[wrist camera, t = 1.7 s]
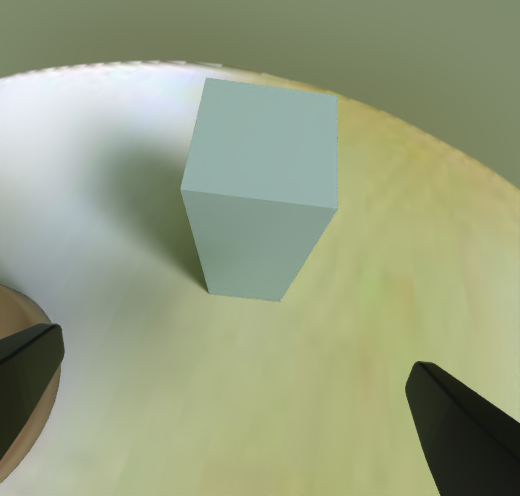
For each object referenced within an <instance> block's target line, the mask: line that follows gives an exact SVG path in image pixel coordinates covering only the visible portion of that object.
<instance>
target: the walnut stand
mask: <svg viewBox="0 0 520 496" xmlns="http://www.w3.org/2000/svg"><path fill="white" fill-rule="evenodd" d="M38 323H51V322H50V320H49V318H48V317H47V316H46V314H45V313H44V311H43V310H42V309H41V308H40V307H39V306H38V305H37V304H36V303H35V302H33V301H32V300H31V299H29V298H28V297H26V296H25V295H23V294H21V293H19V292H17V291H15V290H13V289H10V288H8V287H5V286H2V285H0V339H2V338H5V337H7V336H9V335H12V334H14V333H17V332H19V331H21V330H24V329H26V328H29V327H31V326H33V325H36V324H38ZM60 373H61V364H60V366H59V367H58V369H57V371H56V373H55V374H54V376H53V378H52V380H51V382H50V383H49V385H48V387H47V389H46V390H45V392H44V394H43V396H42V398H41V399H40V401H39V403H38V405H37V407H36V408H35V410H34V412H33V413H32V415H31V417H30V418H29V420H28V422H27V423H26V425H25V426H24V428H23V429H22V431H21V432H20V434H19V435H18V437H17V438H16V440H15V441H14V442H13V444H12V445H11V447H10V448H9V450H8V451H7V453H6V454H5V455H4V457H3V458H2V460H1V461H0V483H2V482H3V481H4V480H5V479H6V478H7V477H8V476H9V474H10V473H11V472H12V471H13V470H14V469H15V468H16V467H17V466H18V465H19V464H20V462H21V461H22V460H23V459H24V457H25V456H26V455H27V453H28V452H29V451H30V449H31V448H32V446H33V445H34V443H35V442H36V440H37V439H38V437H39V435H40V434H41V432H42V430H43V428H44V426H45V424H46V422H47V420H48V418H49V415H50V413H51V410H52V408H53V405H54V402H55V399H56V395H57V391H58V387H59V380H60Z"/></svg>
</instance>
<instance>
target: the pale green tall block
mask: <svg viewBox="0 0 520 496" xmlns="http://www.w3.org/2000/svg"><path fill="white" fill-rule="evenodd" d="M180 191H181V194H182V198H183V202H184V205H185V209H186V212H187V216H188V219H189V223H190V227H191V230H192V234H193V237H194V241H195V244H196V248H197V252H198V255H199V259H200V262H201V266H202V270H203V273H204V277H205V280H206V284H207V287H208V291H209V294H215V295H224V296H233V297H242V298H251V299H260V300H269V301H278V302H280V301H281V299H282V298H283V296H284V295H285V293H286V291H287V290H288V288H289V287H290V285H291V283H292V282H293V280H294V278H295V277H296V275H297V274H298V272H299V270H300V269H301V267H302V266H303V264H304V262H305V261H306V259H307V258H308V256H309V254H310V253H311V251H312V250H313V248H314V246H315V245H316V243H317V242H318V240H319V238H320V237H321V235H322V234H323V232H324V230H325V229H326V227H327V226H328V224H329V222H330V221H331V219H332V218H333V216H334V214H335V213H336V211H337V210H338V166H337V96H335V95H328V94H320V93H313V92H306V91H299V90H291V89H284V88H277V87H270V86H263V85H255V84H248V83H241V82H234V81H226V80H219V79H212V78H206V80H205V84H204V89H203V93H202V97H201V101H200V106H199V110H198V114H197V119H196V123H195V127H194V132H193V136H192V140H191V145H190V149H189V153H188V157H187V162H186V166H185V170H184V175H183V179H182V183H181V188H180Z"/></svg>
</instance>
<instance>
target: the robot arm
mask: <svg viewBox="0 0 520 496" xmlns="http://www.w3.org/2000/svg"><path fill="white" fill-rule="evenodd" d="M64 352H65V349H64V342H63V336H62V329H61V327H60V325H58V324H54V323H38V324H36V325H33V326H31V327H29V328H26V329H24V330H21V331H19V332H17V333H14V334H12V335H9V336H7V337H5V338H2V339H0V461H1V460H2V458H3V457H4V455H5V454H6V453H7V451H8V450H9V448H10V447H11V445H12V444H13V442H14V441H15V440H16V438H17V437H18V435H19V434H20V432H21V431H22V429H23V428H24V426H25V425H26V423H27V422H28V420H29V418H30V417H31V415H32V413H33V412H34V410H35V408H36V407H37V405H38V403H39V401H40V399H41V398H42V396H43V394H44V392H45V390H46V389H47V387H48V385H49V383H50V382H51V380H52V378H53V376H54V374H55V373H56V371H57V369H58V367H59V366H60V364H61V362H62V360H63V357H64ZM405 392H406V397H407V400H408V403H409V407H410V410H411V413H412V416H413V420H414V423H415V426H416V430H417V433H418V436H419V440H420V443H421V446H422V449H423V452H424V455H425V458H426V461H427V463H428V466H429V469H430V471H431V474H432V476H433V478H434V481H435V483H436V486H437V488H438V491H439V493H440V496H520V423H519V422H518V421H516V420H515V419H513V418H512V417H510V416H509V415H508V414H506V413H505V412H503V411H502V410H500V409H499V408H498V407H496V406H495V405H493V404H492V403H490V402H489V401H487V400H486V399H485V398H483V397H482V396H480V395H479V394H477V393H476V392H475V391H473V390H472V389H470V388H469V387H467V386H466V385H465V384H463V383H462V382H460V381H459V380H457V379H456V378H455V377H453V376H452V375H450V374H449V373H447V372H446V371H445V370H443V369H442V368H440V367H439V366H437V365H436V364H434V363H432V362H424V361H417V362H415V363H414V365H413V367H412V370H411V372H410V375H409V377H408V380H407V382H406V386H405Z"/></svg>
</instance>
